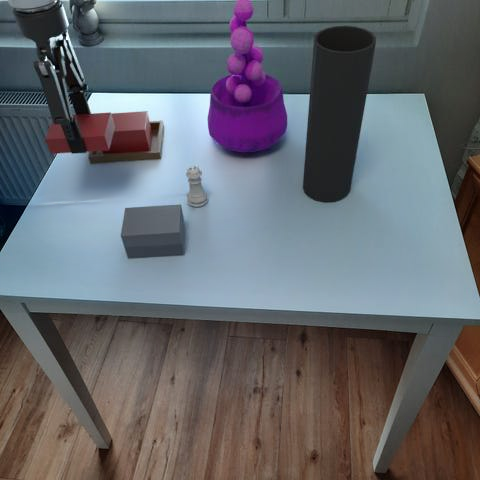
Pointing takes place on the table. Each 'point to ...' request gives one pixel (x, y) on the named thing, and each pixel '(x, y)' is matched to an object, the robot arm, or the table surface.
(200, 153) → the table surface
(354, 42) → the vase
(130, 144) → the burgundy book
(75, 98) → the robot arm
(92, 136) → the burgundy book
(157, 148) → the book tray
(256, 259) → the table surface
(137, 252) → the gray box
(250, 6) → the decorative plant
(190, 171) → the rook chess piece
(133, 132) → the burgundy book
